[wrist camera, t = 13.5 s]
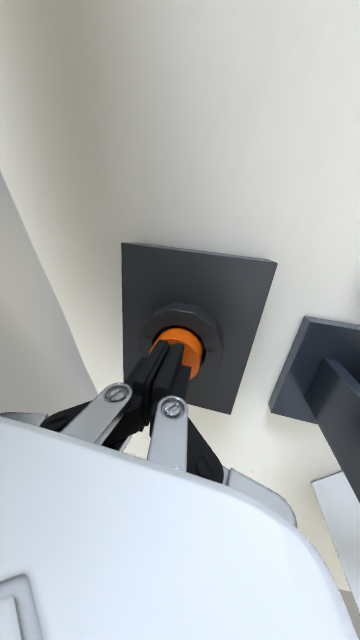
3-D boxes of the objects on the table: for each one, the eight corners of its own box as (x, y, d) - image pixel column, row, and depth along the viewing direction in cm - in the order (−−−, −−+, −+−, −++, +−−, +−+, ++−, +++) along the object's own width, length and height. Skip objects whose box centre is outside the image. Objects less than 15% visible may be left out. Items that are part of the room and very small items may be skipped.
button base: (136, 242, 16) (107, 242, 12) (268, 259, 14) (286, 265, 10) (134, 371, 22) (114, 400, 18) (229, 394, 20) (231, 432, 16)
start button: (158, 323, 14) (149, 333, 12) (206, 332, 13) (203, 344, 12) (155, 362, 15) (147, 376, 14) (198, 372, 15) (195, 387, 13)
